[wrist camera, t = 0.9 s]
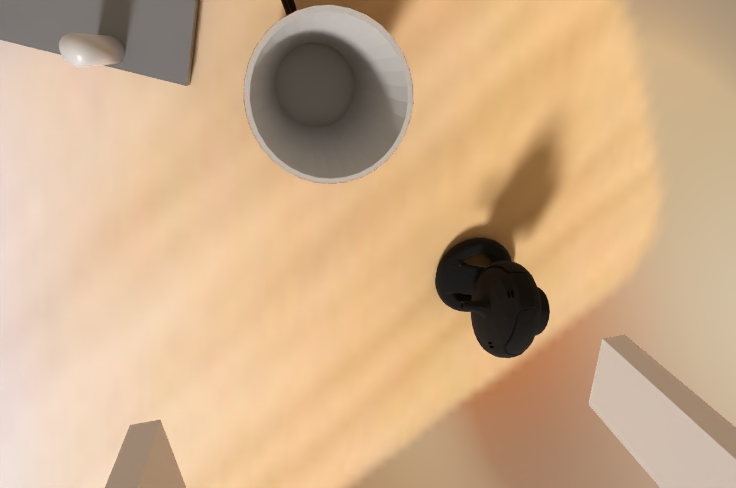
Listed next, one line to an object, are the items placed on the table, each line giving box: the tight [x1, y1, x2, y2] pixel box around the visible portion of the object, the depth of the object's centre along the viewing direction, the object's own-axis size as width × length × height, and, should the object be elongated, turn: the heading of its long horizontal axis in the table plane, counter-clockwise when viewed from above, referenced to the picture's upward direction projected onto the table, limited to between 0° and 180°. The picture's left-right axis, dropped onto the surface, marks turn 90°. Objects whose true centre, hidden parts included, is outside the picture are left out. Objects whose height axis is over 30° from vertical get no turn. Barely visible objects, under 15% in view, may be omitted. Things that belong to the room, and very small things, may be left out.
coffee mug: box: [244, 0, 413, 184], centre depth 25 cm, size 12×9×10 cm
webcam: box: [435, 238, 550, 358], centre depth 36 cm, size 8×8×10 cm
